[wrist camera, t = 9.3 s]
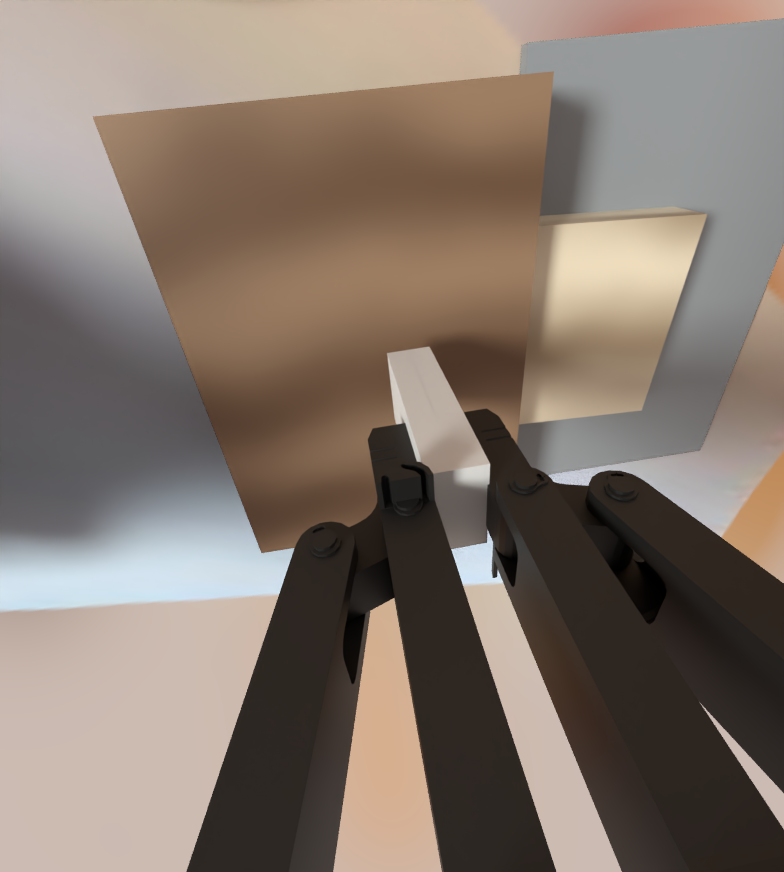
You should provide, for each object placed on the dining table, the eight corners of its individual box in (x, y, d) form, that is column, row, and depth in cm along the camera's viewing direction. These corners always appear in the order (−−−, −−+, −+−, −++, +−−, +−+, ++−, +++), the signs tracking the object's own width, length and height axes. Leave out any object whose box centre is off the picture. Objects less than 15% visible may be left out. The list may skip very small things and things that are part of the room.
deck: (140, 119, 15) (92, 116, 12) (506, 82, 16) (553, 71, 13) (268, 499, 26) (261, 552, 22) (486, 465, 27) (510, 512, 23)
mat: (521, 45, 16) (528, 42, 15) (861, 13, 16) (877, 9, 16) (493, 476, 27) (497, 482, 27) (693, 444, 28) (700, 450, 27)
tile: (515, 217, 18) (534, 226, 17) (673, 206, 19) (707, 213, 17) (494, 404, 23) (508, 425, 22) (619, 391, 24) (641, 410, 22)
